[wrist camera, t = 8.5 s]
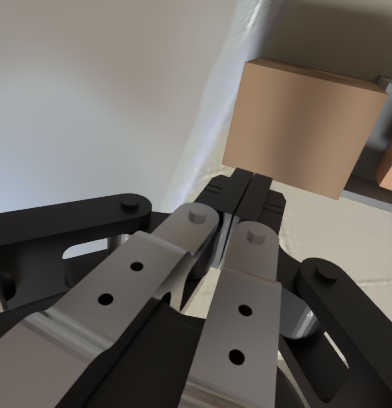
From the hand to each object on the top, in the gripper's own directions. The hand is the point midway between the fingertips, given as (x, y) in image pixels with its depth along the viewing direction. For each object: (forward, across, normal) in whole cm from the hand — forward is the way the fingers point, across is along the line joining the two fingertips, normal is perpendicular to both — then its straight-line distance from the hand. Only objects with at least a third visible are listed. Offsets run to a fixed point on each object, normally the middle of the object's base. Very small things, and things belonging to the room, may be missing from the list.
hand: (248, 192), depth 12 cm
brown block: (+17, -1, 0) cm, 17 cm away
